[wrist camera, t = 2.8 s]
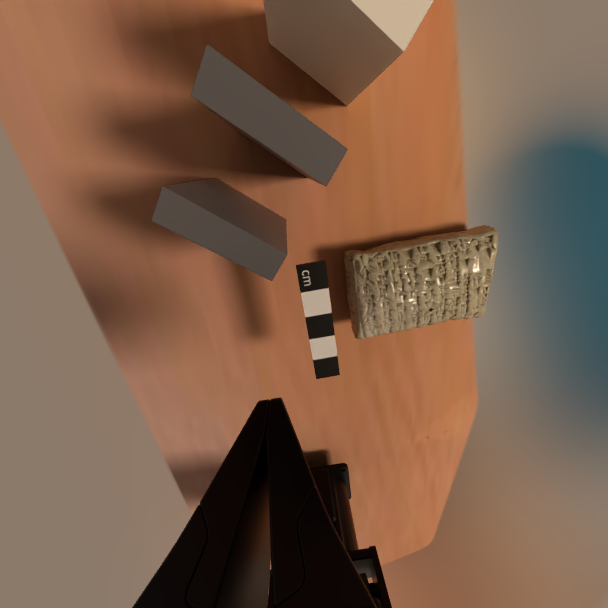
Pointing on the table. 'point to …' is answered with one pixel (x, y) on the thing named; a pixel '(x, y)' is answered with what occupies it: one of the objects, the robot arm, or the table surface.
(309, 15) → the end domino
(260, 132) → the domino
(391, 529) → the table surface
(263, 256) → the domino
